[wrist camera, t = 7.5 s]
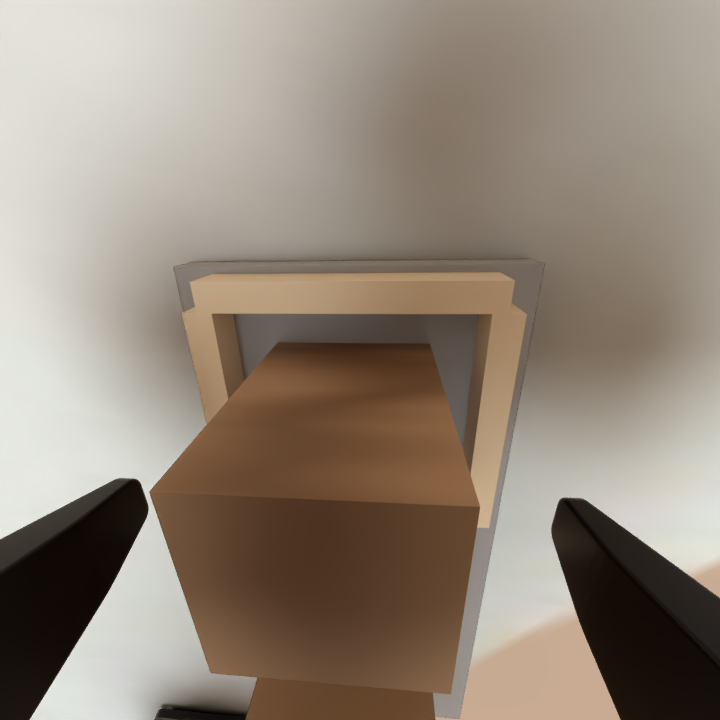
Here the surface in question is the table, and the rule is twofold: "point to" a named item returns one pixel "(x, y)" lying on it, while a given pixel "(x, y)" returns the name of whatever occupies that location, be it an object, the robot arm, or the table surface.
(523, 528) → the table surface
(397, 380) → the walnut block
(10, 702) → the robot arm
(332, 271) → the holder
